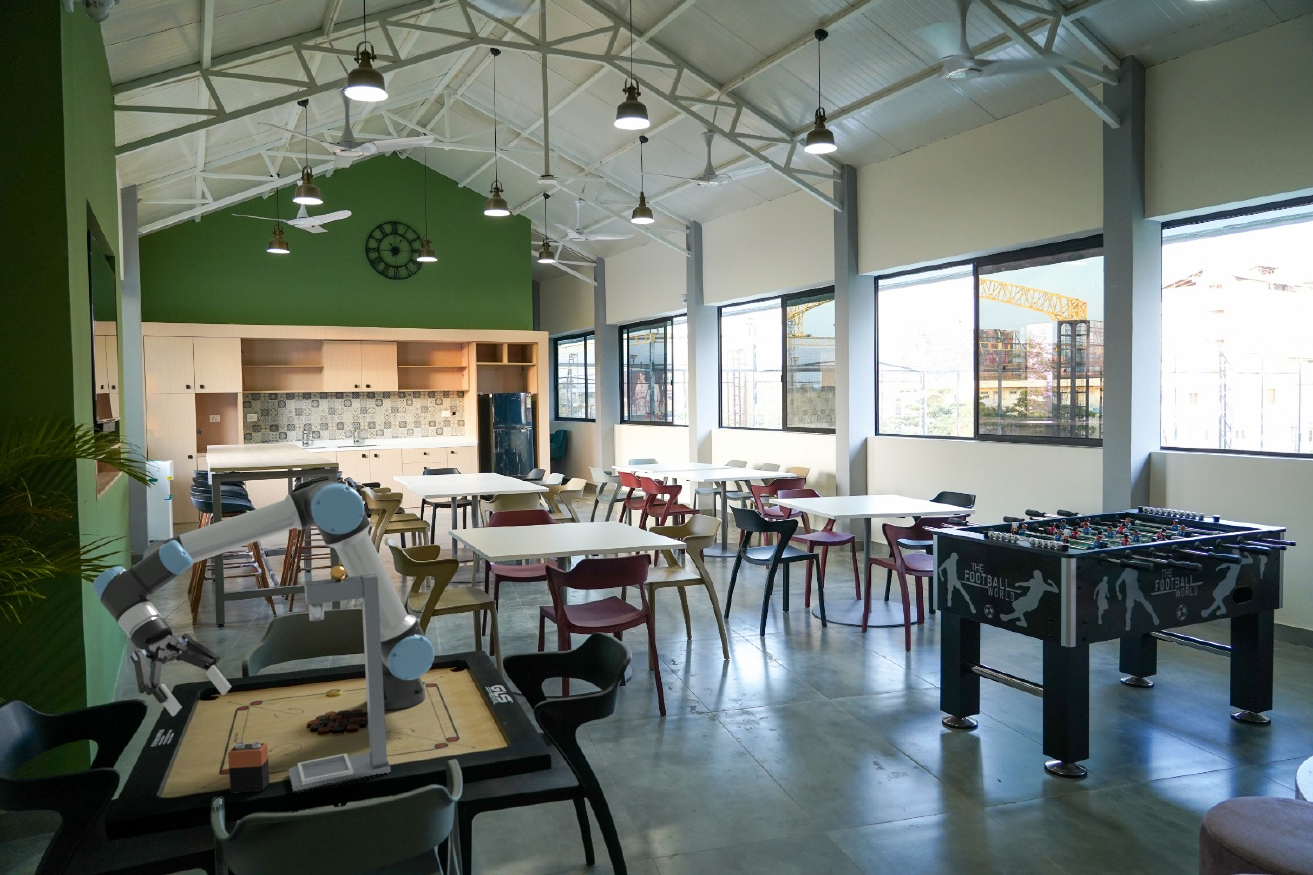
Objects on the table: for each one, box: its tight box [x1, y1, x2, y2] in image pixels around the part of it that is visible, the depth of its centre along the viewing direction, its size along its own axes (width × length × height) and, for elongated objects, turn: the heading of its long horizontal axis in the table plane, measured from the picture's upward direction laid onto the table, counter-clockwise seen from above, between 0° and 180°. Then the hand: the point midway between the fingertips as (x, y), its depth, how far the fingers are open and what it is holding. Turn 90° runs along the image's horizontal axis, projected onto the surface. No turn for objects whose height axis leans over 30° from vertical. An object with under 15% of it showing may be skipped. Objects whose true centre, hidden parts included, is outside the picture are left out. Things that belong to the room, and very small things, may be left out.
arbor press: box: [288, 565, 392, 792], centre depth 199 cm, size 10×20×46 cm, turn 116°
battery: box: [227, 741, 270, 793], centre depth 194 cm, size 4×7×10 cm, turn 94°
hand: (203, 701), depth 196 cm, fingers open, 13 cm apart
